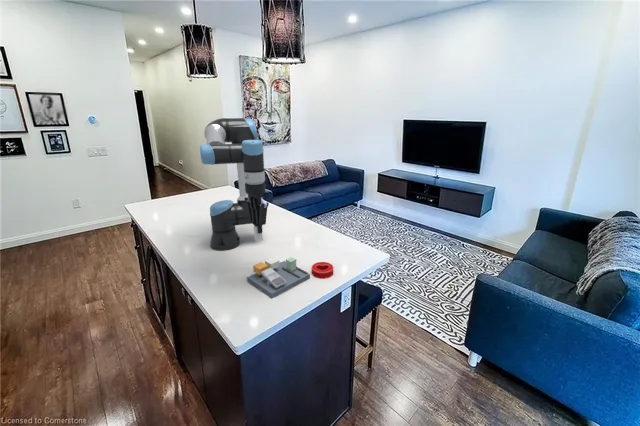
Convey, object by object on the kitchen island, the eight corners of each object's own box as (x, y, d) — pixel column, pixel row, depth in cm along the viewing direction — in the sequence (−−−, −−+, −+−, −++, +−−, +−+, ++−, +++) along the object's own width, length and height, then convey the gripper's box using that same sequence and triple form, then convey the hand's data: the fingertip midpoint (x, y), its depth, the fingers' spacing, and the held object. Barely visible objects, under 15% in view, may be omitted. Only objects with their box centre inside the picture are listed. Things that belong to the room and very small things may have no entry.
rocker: (260, 273, 118) (260, 271, 118) (270, 269, 122) (270, 266, 121) (275, 288, 112) (276, 285, 112) (285, 283, 116) (286, 280, 115)
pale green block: (286, 269, 128) (285, 259, 126) (291, 266, 130) (291, 257, 128) (291, 271, 126) (290, 262, 124) (296, 268, 128) (296, 259, 126)
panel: (247, 281, 122) (246, 273, 121) (284, 264, 136) (284, 257, 135) (272, 298, 111) (271, 289, 110) (309, 278, 125) (309, 270, 124)
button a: (253, 271, 123) (252, 265, 122) (262, 267, 126) (261, 261, 125) (259, 275, 120) (259, 269, 119) (268, 271, 123) (268, 265, 122)
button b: (265, 266, 127) (264, 260, 126) (273, 262, 130) (273, 257, 129) (271, 270, 124) (271, 264, 123) (279, 266, 127) (279, 260, 126)
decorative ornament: (317, 280, 124) (317, 274, 123) (308, 270, 132) (308, 263, 131) (337, 276, 127) (337, 269, 126) (327, 265, 136) (327, 259, 135)
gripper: (236, 181, 112) (241, 237, 120) (256, 186, 104) (260, 247, 111) (253, 178, 117) (257, 232, 125) (273, 183, 109) (276, 241, 116)
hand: (258, 239), depth 118 cm, fingers closed
